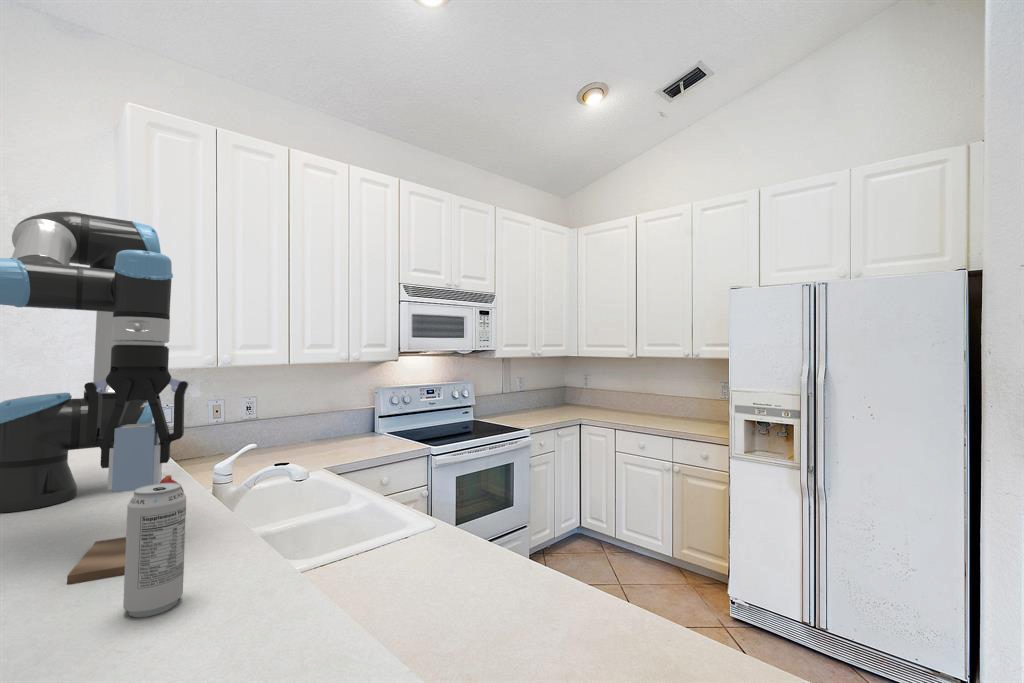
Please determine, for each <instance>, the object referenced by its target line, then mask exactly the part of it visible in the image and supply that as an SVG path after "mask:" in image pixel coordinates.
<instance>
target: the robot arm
mask: <svg viewBox="0 0 1024 683" xmlns="http://www.w3.org/2000/svg"><path fill="white" fill-rule="evenodd" d="M11 243H12V245H13V247H14V250H13V253H12V255H11V257H9V258H7V257H0V306H1V305H2V306H11V307H12V306H13V307H15V308H37V309H38V308H39V309H40V308H41V309H53V310H54V309H57V310H74V311H75V310H77V311H78V310H79V311H90V312H96V317H95V318H96V320H95V321H96V322H95V341H94V360H93V361H94V362H93V380H92V381H89V382H87V383H84V386H83V387H84V390H83V398H72V395H71V393H70V392H58V393H57V392H56V393H45V394H39V395H38V394H37V395H31V396H25V397H23V396H22V397H18V398H17V397H16V398H11V399H7V400H3V401H1V402H0V514H1V513H12V512H13V513H14V512H20V511H27V510H34V509H39V508H44V507H49V506H53V505H58V504H62V503H64V502H67V501H70V500H72V499H74V498H76V497H77V495H78V494H77V492H78V491H77V490H78V486H77V482H76V481H75V477H74V475H73V473H72V471H71V467H70V466H69V462H68V460H69V451H73V450H74V451H75V450H82V449H83V450H84V449H85V450H86V449H94V448H99V449H100V467H101V469H108V476H107V477H108V478H107V490H108V491H110V490H111V491H112V477H113V455H114V433H115V428H118V427H120V426H122V425H128V424H149V423H154V424H155V426H156V429H157V433H158V436H159V442H158V443H157V444H156V445H155V447H154V471H153V484H159V483H160V482H161V480H162V478H161V472H162V469H163V468H162V467H163V464H168V462H169V461H170V458H171V443H172V442H175V441H177V440H180V439H181V438H183V436H184V433H185V394H186V392H187V389H188V387H189V385H190V383H189V382H188V381H187V380H180V379H175V378H173V377H172V375H171V374H170V372H169V359H170V358H169V356H170V355H169V354H170V348H169V347H168V345H166V344H167V343H169V342H170V335H171V334H170V332H171V330H170V329H171V317H170V315H171V312H170V311H171V295H172V294H171V293H172V278H174V274H173V272H172V271H173V270H172V260H171V259H170V257H169V256H167V255H166V254H163V253H162V252H161V245H160V238H159V236H158V232H157V231H156V229H155V228H154V227H153V226H152V225H148V224H145V223H140V222H136V221H133V220H125V219H124V220H123V219H119V218H112V217H105V216H99V215H93V214H86V213H81V212H75V211H51V212H50V211H48V212H44V213H39V214H34V215H31V216H29V217H26V218H24V219H22V220H21V221H20V222H18V223H17V224H16V226H14V229H13V231H12V234H11ZM72 264H73V265H72ZM74 264H75V265H74ZM79 265H83V266H79ZM87 266H89V267H87ZM168 385H170V386H171V388H170V389H171V391H172V392H173V393H174V398H173V432H172V433H170V431H169V427H168V422H167V418H166V415H165V412H164V409H163V406H162V400H161V396H160V394H161V393H162V392H163V391H164V390H165V389H166V388H167V387H168ZM162 473H163V472H162Z"/></svg>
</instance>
